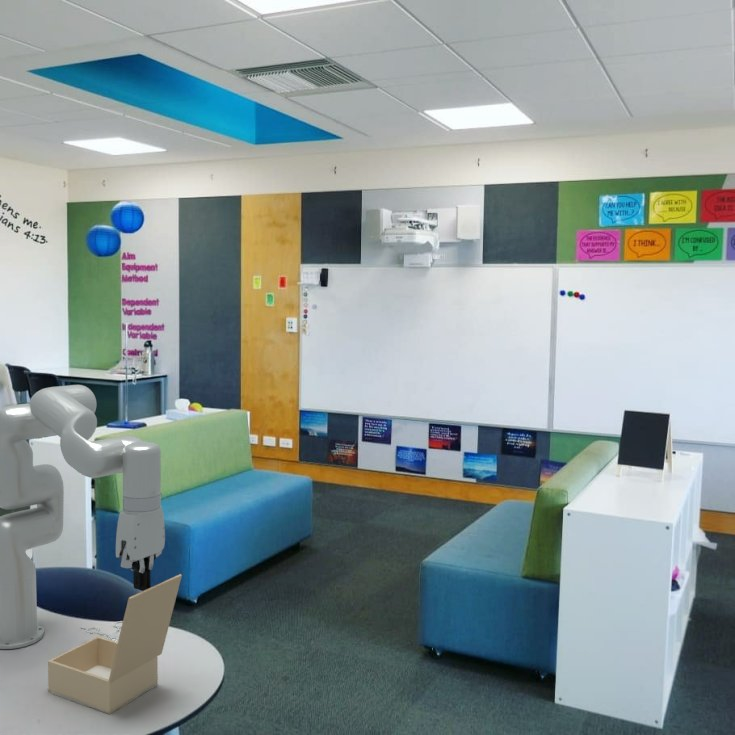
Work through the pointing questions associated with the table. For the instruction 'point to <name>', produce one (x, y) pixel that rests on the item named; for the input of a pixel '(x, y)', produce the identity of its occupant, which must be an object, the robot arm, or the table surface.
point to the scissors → (106, 634)
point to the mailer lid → (144, 627)
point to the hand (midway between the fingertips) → (142, 588)
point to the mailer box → (98, 677)
